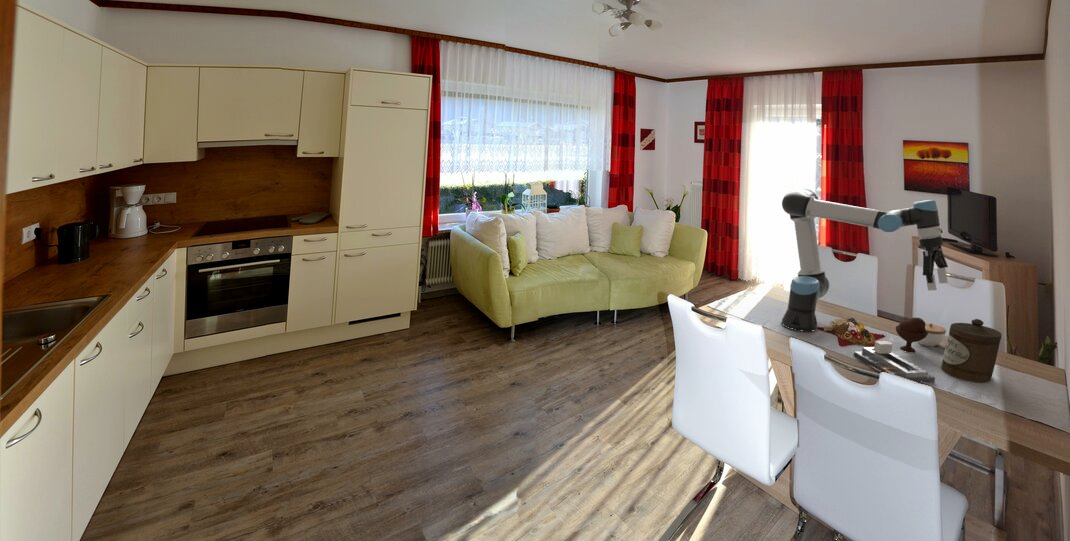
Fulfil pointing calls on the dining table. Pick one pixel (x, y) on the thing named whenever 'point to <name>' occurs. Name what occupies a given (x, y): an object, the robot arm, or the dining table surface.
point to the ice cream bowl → (911, 332)
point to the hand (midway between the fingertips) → (938, 286)
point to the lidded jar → (933, 335)
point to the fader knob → (883, 348)
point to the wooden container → (971, 351)
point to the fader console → (893, 365)
